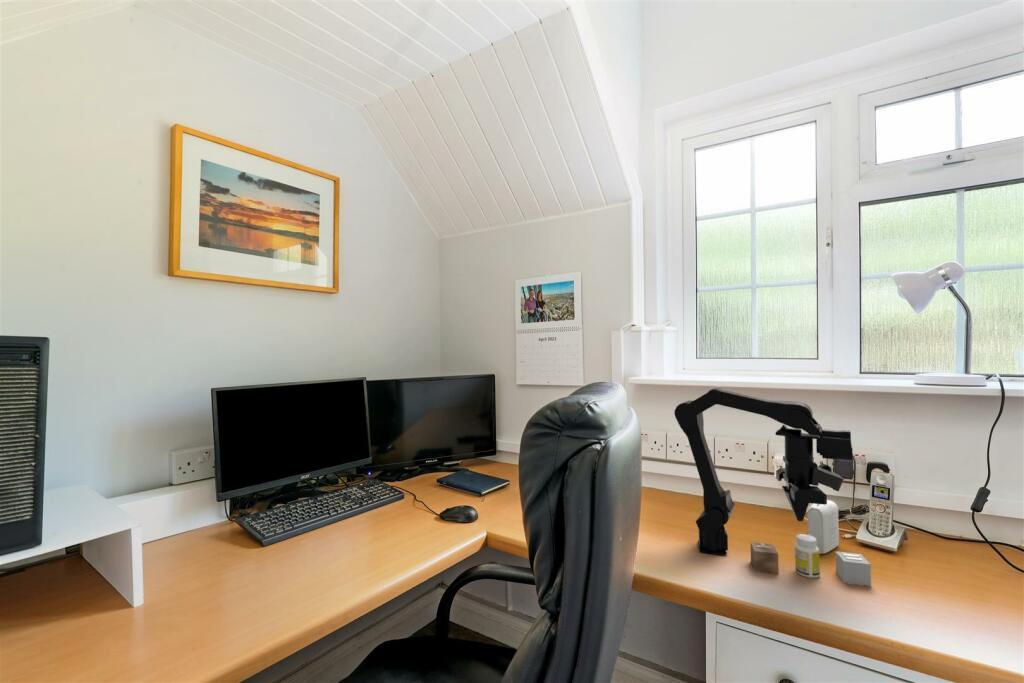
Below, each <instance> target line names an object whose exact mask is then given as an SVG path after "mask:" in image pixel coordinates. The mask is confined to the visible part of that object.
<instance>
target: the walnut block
mask: <svg viewBox="0 0 1024 683" xmlns="http://www.w3.org/2000/svg"><path fill="white" fill-rule="evenodd" d="M749 545H750V563H751V565H752V569H753V571H754V572H757V573H763V574H771V575H779V574H780V572H779V571H780V568H779V566H780V565H779V552H778V550H777V548H776V547H775V545H774V544H771V543H765V542H764V543H763V542H755V541H750V544H749Z"/></svg>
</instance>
